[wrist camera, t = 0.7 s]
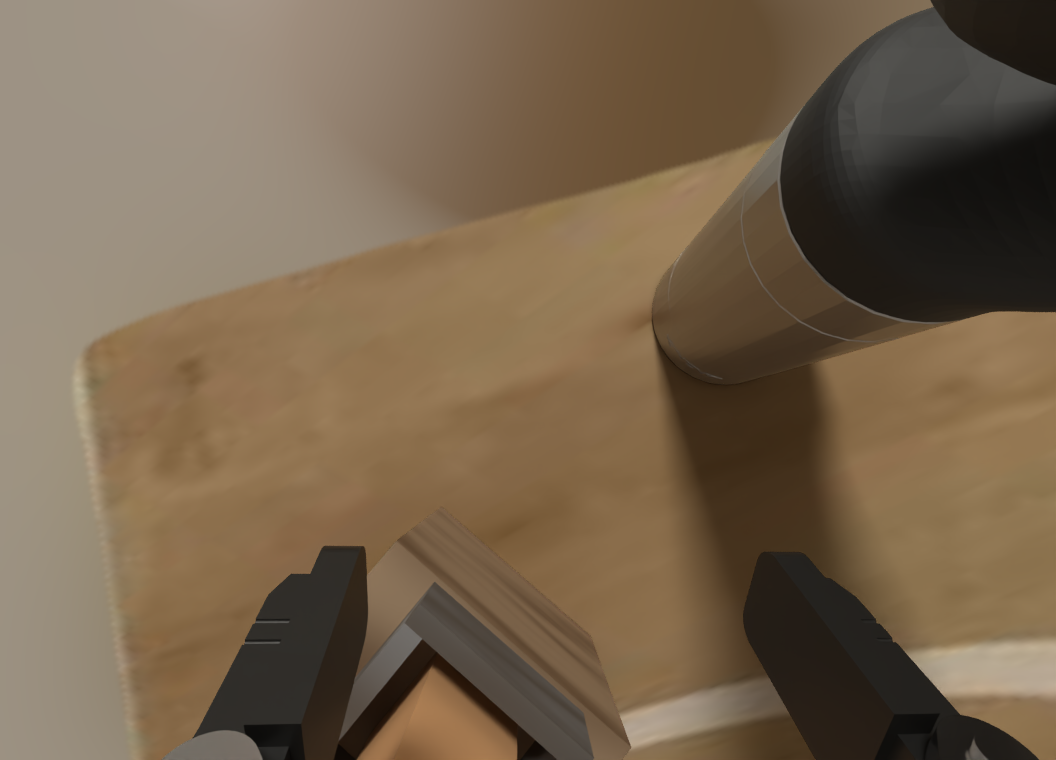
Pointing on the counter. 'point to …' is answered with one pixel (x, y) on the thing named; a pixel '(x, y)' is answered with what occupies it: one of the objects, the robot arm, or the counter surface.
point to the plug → (442, 722)
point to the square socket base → (480, 646)
